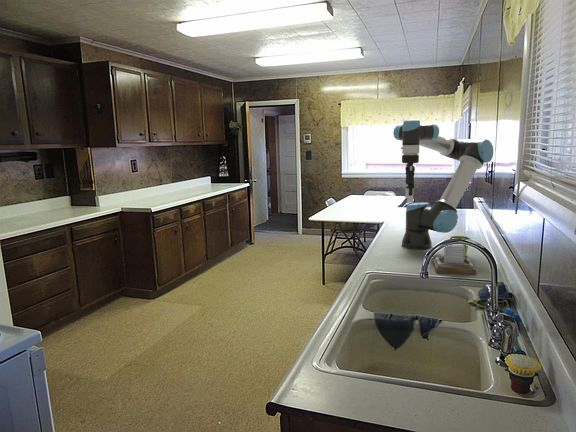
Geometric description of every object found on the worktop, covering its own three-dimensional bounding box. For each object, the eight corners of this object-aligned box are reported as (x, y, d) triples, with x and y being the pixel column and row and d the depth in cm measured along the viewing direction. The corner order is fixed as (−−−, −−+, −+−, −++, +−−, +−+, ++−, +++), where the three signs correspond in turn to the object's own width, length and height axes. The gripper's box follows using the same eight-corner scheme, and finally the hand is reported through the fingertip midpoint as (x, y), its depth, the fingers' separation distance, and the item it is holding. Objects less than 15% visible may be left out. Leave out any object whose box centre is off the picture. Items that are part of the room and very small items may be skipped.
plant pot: (445, 255, 208) (446, 238, 206) (455, 251, 214) (456, 234, 212) (463, 259, 201) (464, 241, 199) (473, 255, 206) (474, 238, 205)
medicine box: (462, 262, 189) (463, 244, 187) (464, 266, 185) (465, 246, 183) (443, 262, 191) (444, 243, 189) (445, 265, 186) (445, 246, 185)
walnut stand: (432, 262, 197) (432, 255, 196) (469, 264, 193) (469, 256, 193) (436, 272, 183) (436, 265, 183) (475, 274, 180) (476, 266, 179)
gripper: (400, 152, 206) (399, 195, 211) (403, 156, 183) (402, 204, 187) (416, 152, 205) (415, 195, 209) (421, 156, 181) (419, 204, 185)
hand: (409, 200), depth 198 cm, fingers open, 13 cm apart
